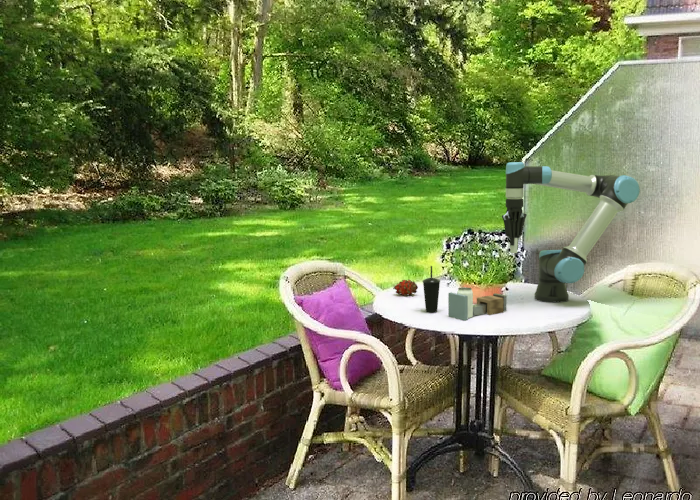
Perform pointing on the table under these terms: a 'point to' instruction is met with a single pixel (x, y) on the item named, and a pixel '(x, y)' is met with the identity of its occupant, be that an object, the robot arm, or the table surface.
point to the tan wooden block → (492, 304)
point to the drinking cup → (431, 293)
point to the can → (469, 293)
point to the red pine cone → (406, 287)
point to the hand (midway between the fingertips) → (513, 252)
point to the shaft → (482, 307)
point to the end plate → (458, 306)
